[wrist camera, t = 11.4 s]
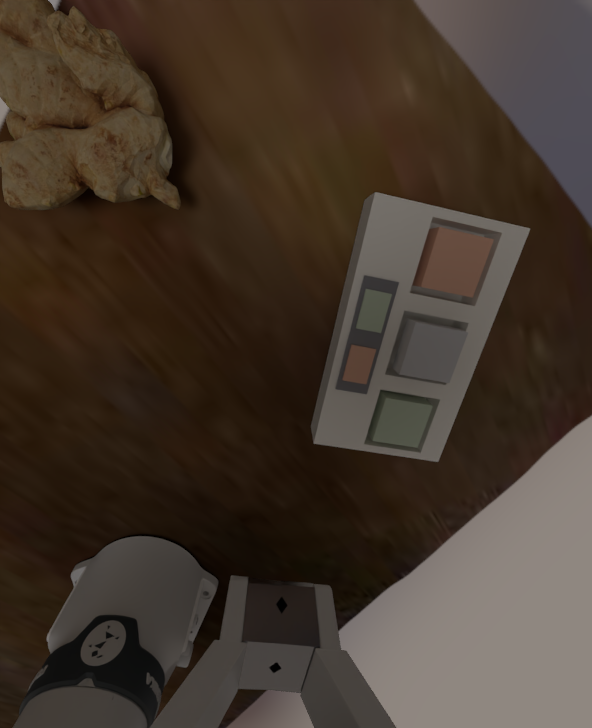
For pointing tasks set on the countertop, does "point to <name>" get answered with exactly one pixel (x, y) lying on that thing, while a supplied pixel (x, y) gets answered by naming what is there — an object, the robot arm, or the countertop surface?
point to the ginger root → (76, 113)
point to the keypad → (389, 315)
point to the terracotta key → (452, 261)
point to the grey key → (429, 350)
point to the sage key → (399, 419)
